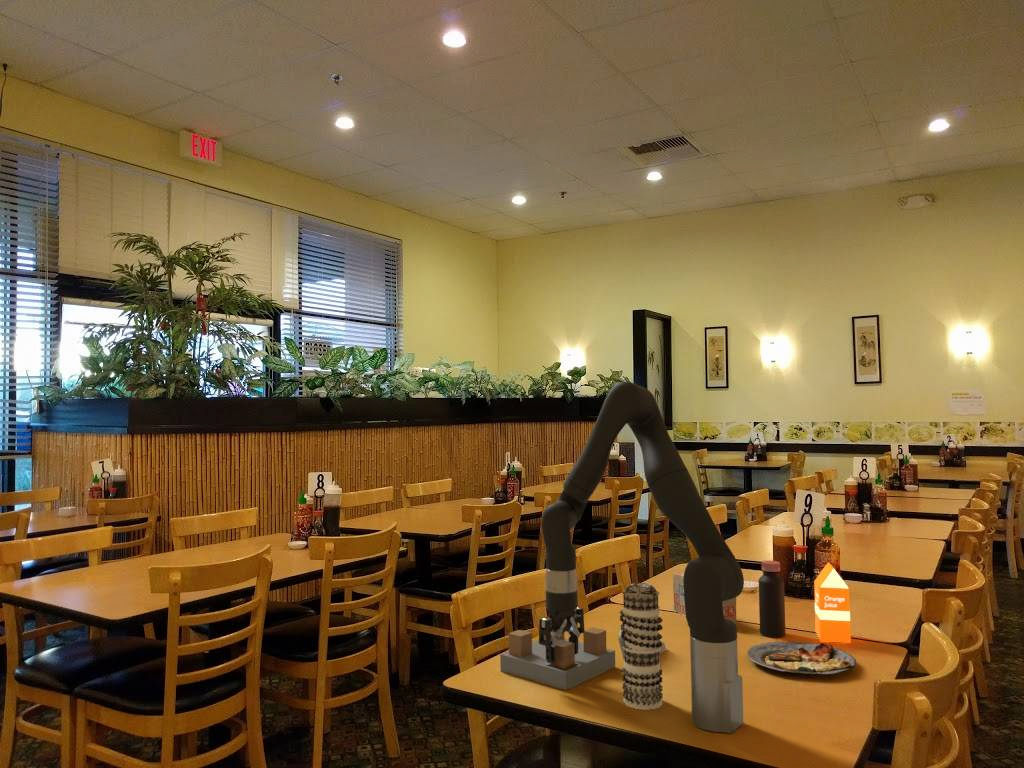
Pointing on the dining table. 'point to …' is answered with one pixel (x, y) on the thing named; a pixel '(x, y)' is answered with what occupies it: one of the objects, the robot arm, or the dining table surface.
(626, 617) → the decorative candle
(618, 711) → the dining table surface
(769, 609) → the bottle
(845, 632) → the orange juice
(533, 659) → the stool seat
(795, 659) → the food plate
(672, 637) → the dining table surface
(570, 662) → the stool leg
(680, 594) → the printed cardboard box
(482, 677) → the dining table surface
